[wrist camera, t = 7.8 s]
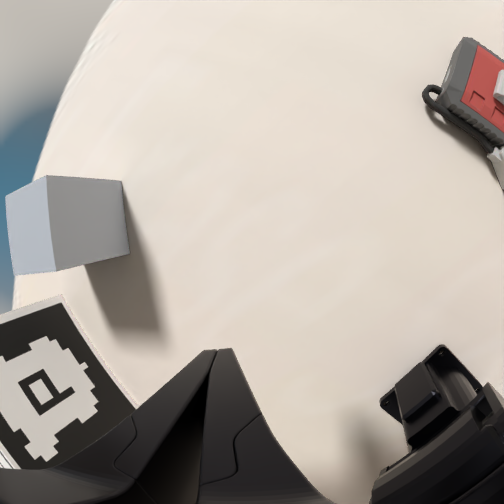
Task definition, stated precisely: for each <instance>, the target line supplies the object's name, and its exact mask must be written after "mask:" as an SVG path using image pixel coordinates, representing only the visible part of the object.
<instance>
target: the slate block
mask: <svg viewBox="0 0 504 504" xmlns="http://www.w3.org/2000/svg"><path fill="white" fill-rule="evenodd" d="M6 214H7V226H8V236H9V244H10V252H11V259H12V265H13V271H14V276H15V275H25V274H35V273H45V272H55V271H60V270H64V269H68V268H72V267H76V266H80V265H85V264H89V263H93V262H97V261H101V260H106V259H110V258H114V257H118V256H123V255H127V254H130V251H129V244H128V237H127V229H126V221H125V213H124V204H123V194H122V183H121V181H117V180H106V179H94V178H80V177H65V176H48V175H46V176H44V177H42V178H40V179H38V180H36V181H34V182H32V183H30V184H28V185H26V186H24V187H22V188H20V189H18V190H16V191H14V192H12V193H11V194H9V195H7V196H6Z"/></svg>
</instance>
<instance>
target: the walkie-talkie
mask: <svg viewBox="0 0 504 504" xmlns="http://www.w3.org/2000/svg"><path fill="white" fill-rule="evenodd" d="M429 92H434V93H436V94H438V96H437V99H436V102H434V101H433V100H432V99H431V97H430V96H429ZM422 97H423V100H424V102H425V103H426V104H427V105H428V106H429V107H430V108H431V109H433V110H435V111H436V112H438V113H439V114H441V115H442V116H444V117H446V118H447V119H449V120H450V121H452V122H453V123H455V124H456V125H458V126H459V127H460V128H462V129H463V130H465V131H466V132H468V133H469V134H470V135H472V136H473V137H474V138H476V139H477V140H478V141H479V142H480V143H481V145H482V146H483V148H484V150H485V151H486V152H487V153H488V155H487V158H488V159H490V160H491V162H492V165H493V167H494V170H495V172H496V175H497V178H498V180H499V183H500V186H501V187H502V189H503V190H504V60H503V59H501V58H500V57H498V55H496V54H494V53H493V52H492V51H491V50H489V49H487V48H486V47H485V46H483V45H481V44H480V43H479V42H477V41H475V40H474V39H473V38H468V37H463V38H462V40H461V41H460V43H459V44H458V46H457V47H456V49H455V50H454V52H453V55H452V58H451V61H450V64H449V66H448V69H447V72H446V75H445V78H444V81H443V83H442V86H441V87H439V86H436V85H428V86H427V87H426V88H425V89H424V91H423V92H422Z"/></svg>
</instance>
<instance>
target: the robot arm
mask: <svg viewBox="0 0 504 504" xmlns="http://www.w3.org/2000/svg"><path fill="white" fill-rule="evenodd" d="M441 350H444V352H443V353H442V354H439V352H440V351H441ZM477 388H478V389H477ZM476 389H477V390H476ZM475 390H476V391H475ZM385 401H389V402H388V403H384V402H385ZM380 406H381V408H382V409H384V410H385V411H386V412H387V413H389V414H390V415H391V416H392V417H394V418H395V419H396V420H397V421H399V422H400V423H401V424H402V425H403V427H404V432H405V436H406V441H407V446H408V451H409V454H407V455H406V456H405V457H403V458H402V459H400V460H399V461H397V462H396V463H394V464H393V465H391V466H390V467H389V466H388V467H386V468H385V469H383V470H381V472H380V475H379V478H378V479H377V480H376V481H375V483H374V486H373V489H372V497H371V499H370V502H369V504H504V398H503V397H502V396H501V395H500V394H499V393H498V392H497V391H496V390H495V389H494V388H493V386H492V385H491V384H490V383H489V382H487V383H486V385H485V386H484V387H482V385H481V384H480V383H479V381H478V380H477V379H476V378H475V377H474V376H473V375H472V374H471V373H470V371H469V370H468V369H467V368H466V367H465V366H464V365H463V364H462V363H461V362H460V360H459V359H458V358H457V357H456V356H455V355H454V354H453V353H452V352H451V351H450V350H449V349H448V348H447V347H446V346H445V345H439V346H438V347H436V348H435V349H434V350H433V351H432V352H431V353H430V354H429V355H428V356H427V357H426V358H425V359H424V360H423V361H422V362H420V363H418V364H417V365H416V366H415V367H414V368H413V369H412V370H411V371H410V372H409V373H408V374H406V375H405V376H404V377H403V378H402V379H401V380H400V381H399V382H397V383H396V384H395V387H394V388H392V389H391V390H390V391H389V392H388V393H386V394H385V395H384V396H383V397H382V398H381V399H380ZM0 504H336V503H334V502H332V501H330V500H329V499H327V498H326V497H324V496H323V495H322V494H321V493H320V492H319V491H318V490H317V489H316V488H315V487H314V486H313V485H312V484H311V483H310V482H309V481H308V480H307V478H306V477H305V476H304V475H303V474H302V472H301V471H300V470H299V469H298V467H297V466H296V465H295V464H294V463H293V461H292V460H291V459H290V458H289V456H288V455H287V454H286V452H285V451H284V450H283V448H282V447H281V446H280V444H279V443H278V441H277V440H276V438H275V437H274V435H273V433H272V432H271V430H270V428H269V426H268V424H267V422H266V420H265V418H264V416H263V415H262V412H261V410H260V408H259V406H258V404H257V402H256V399H255V397H254V395H253V393H252V391H251V389H250V387H249V384H248V382H247V380H246V378H245V376H244V373H243V371H242V369H241V367H240V365H239V362H238V360H237V358H236V356H235V353H234V351H233V349H232V348H226V349H219V350H216V349H214V350H204V351H202V352H201V353H200V354H199V355H198V356H197V357H196V358H194V359H193V360H192V361H191V362H190V363H189V364H188V365H187V366H186V367H184V368H183V369H182V370H181V371H180V372H179V373H178V374H176V375H175V376H174V377H173V378H172V379H171V380H170V381H169V382H167V383H166V384H165V385H164V386H163V387H162V388H161V389H159V390H158V391H157V392H156V393H155V394H154V395H152V396H151V397H150V398H149V399H148V400H147V401H145V402H144V403H143V404H142V405H141V406H140V407H138V408H137V409H136V410H135V411H134V412H133V413H131V415H129V416H128V417H127V418H125V419H124V420H123V421H122V422H121V423H119V424H118V425H117V426H115V427H114V428H113V429H112V430H110V431H109V432H108V433H106V434H105V435H104V436H102V437H101V438H99V439H98V440H96V441H95V442H94V443H92V444H90V445H89V446H87V447H86V448H84V449H83V450H81V451H80V452H78V453H77V454H75V455H73V456H72V457H70V458H69V459H67V460H65V461H64V462H62V463H60V464H59V465H57V466H54V467H52V468H48V469H42V470H25V469H9V468H0Z"/></svg>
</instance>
